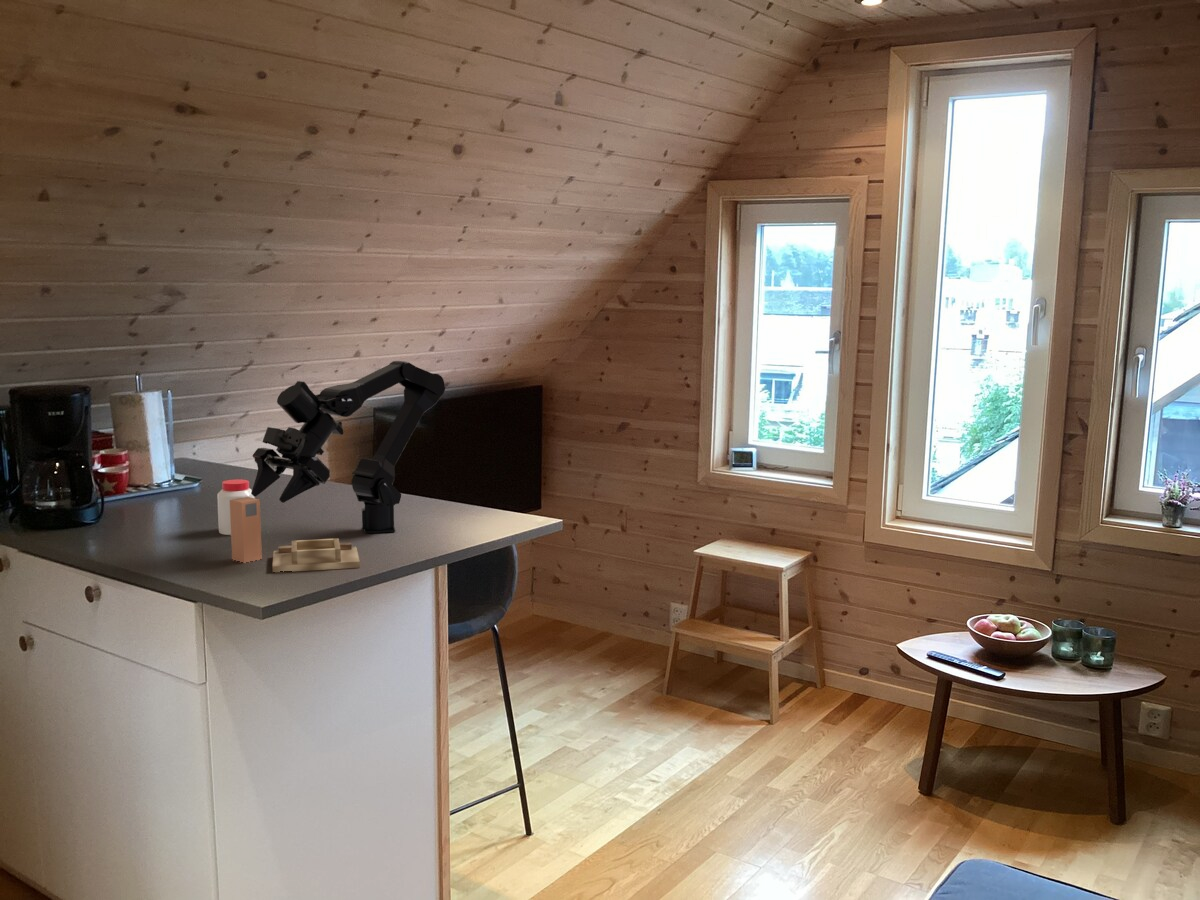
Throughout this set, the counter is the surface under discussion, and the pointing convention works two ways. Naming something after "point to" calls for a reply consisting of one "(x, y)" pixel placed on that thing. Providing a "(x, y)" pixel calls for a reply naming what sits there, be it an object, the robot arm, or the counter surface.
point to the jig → (315, 556)
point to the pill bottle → (229, 492)
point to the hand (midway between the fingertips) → (266, 498)
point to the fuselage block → (245, 529)
